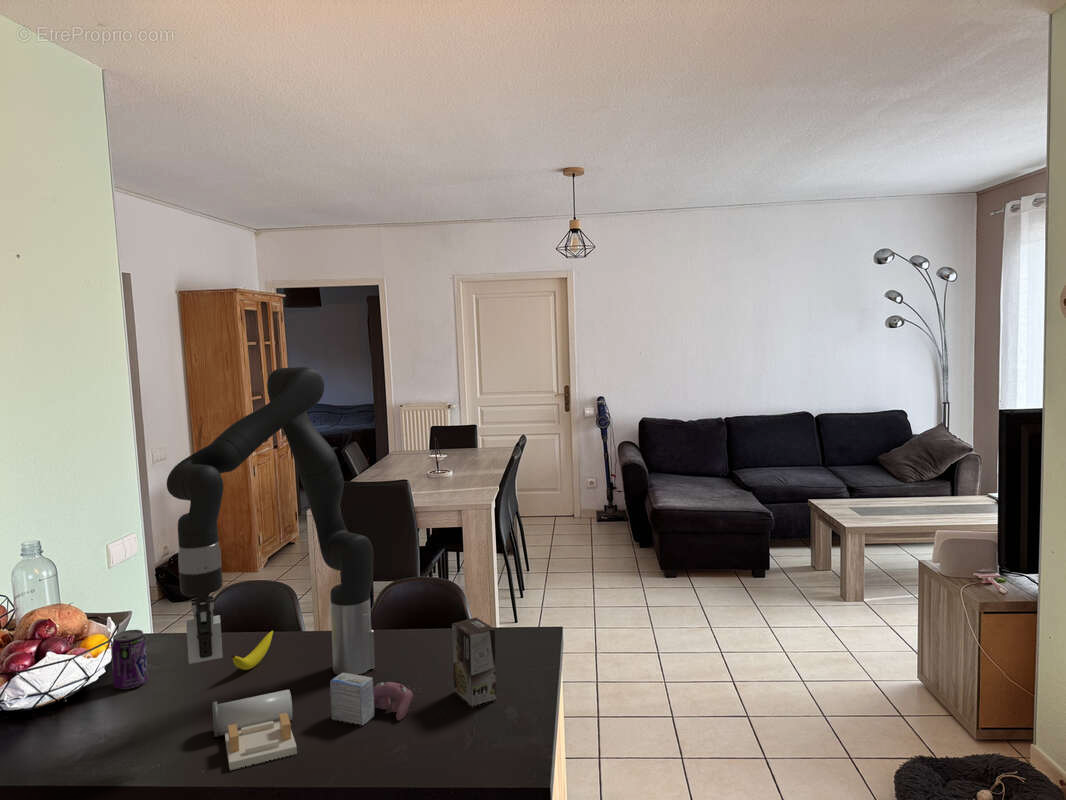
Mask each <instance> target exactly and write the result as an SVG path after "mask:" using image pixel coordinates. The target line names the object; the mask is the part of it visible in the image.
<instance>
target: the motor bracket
mask: <svg viewBox="0 0 1066 800" xmlns="http://www.w3.org/2000/svg"><path fill="white" fill-rule="evenodd" d="M291 720H293V701H292V695H291V691H290V689H285V690H280V691H275V692H269V693H265V694H260V695H256V696H251V697H250V696H249V697H245V698H241V699H236V700H232V701H228V702H226V701H225V702H222V703H218V701H213V702H212V721H213V732H214V734H213V735H214V738H215V737H216V738H217V737H221V736H224V741H225V749H226V755H227V763H228V768H229V769H230V770H229V771H233V770H237V769H242V768H245V766H246V767H251V766H253V765H252V764H254V765H257V764H258V765H259V764H262V763H266V761H267V762H270V761H269V760H271V761H273V760H274V759H275V760H278V758H279V759H282V757H283V758H286V756H287V757H291V756H295V755H297V754H298V748H297V743H296V740H295V737H294V735H293V731H292V728H291V727H292V724H291V722H290V721H291ZM294 754H295V755H294ZM290 755H291V756H290ZM275 760H274V761H275ZM241 767H242V768H241Z"/></svg>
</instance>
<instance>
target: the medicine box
mask: <svg viewBox="0 0 1066 800" xmlns="http://www.w3.org/2000/svg"><path fill="white" fill-rule="evenodd" d="M329 683H330V684H329V687H330V705H331V706H330V709H331V710H330V712H331V720H332V719H333V720H332V721H337V720H338V721H337V722H342V721H343V722H342V723H347V722H348V723H347V724H352V723H354V725H357V724H359V725H358V726H362V725H363V726H365V725H364V724H367V723H368V722H369V721H370V720H372V719H373V718H374V717H375V706H374V694H373V688H374V679H373V677H372V676H371V677H370V676H365V675H362V674H361V675H355V674H349V673H341V674H339V675H336V676H335V677H333V678H332V679H331V680H330V682H329Z"/></svg>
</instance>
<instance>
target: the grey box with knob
mask: <svg viewBox="0 0 1066 800" xmlns="http://www.w3.org/2000/svg"><path fill="white" fill-rule="evenodd" d="M213 620H214V623H213V624H212V625H211V632H212V638H211V643H212V656H210V657H206V658H200V653H199V640H198V638H197V635H198V633H197V627H195V626H194V618H192V619H188V620H187V619H186V638H187V657H188V664H189V665H191V664H196V663H201V662H207V661H212V660H217V659H223V657H224V656H223V640H222V625H221V615H213ZM208 631H209V629H208V628H207V629H201V630H200V633H202V632H208Z"/></svg>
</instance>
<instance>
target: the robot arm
mask: <svg viewBox="0 0 1066 800" xmlns="http://www.w3.org/2000/svg"><path fill="white" fill-rule="evenodd" d="M266 389H267V395H268V399H269V402H268V403H267V404H265V405H263V406H262V407H260V408H259V409H257V410H255V411H253V412H251V413H249V414H247V415H246V416H244V417H242V418H240V419H238V420H236V421H234V423H232V424H231V425H230V426H228V427H227V428H226V429H225V430H224V431H223V432H222V433H221V434H219V435H218V436H217V437H216V438H215V439H214V440H212V442H211V443H210V444H208V445H207V446H205V447H202V448H201V449H198V450H197V451H195V452H194V453H192V454H191V455H188V456H187V457H185V458H184V459H182V460H181V461H180V462H179V463H178V462H177V464H176V465H175V466H174V467H173V468H172V469H171V471H170V472H169V474H168V476H167V479H166V490H167V491H168V493H169V494H170V495H171V496H172V497H173V498H175V499H178V500H181V501H189V502H190V505H189V511H188V512H187V513H184V514H182V515H181V516H180V517H178V521H177V536H178V537H177V538H178V539H177V540H178V557H177V558H178V559H177V561H178V563H177V564H178V574H179V577H178V578H179V591H180V594H183V596H189V597H190V596H192V597H195V598H191V601H190V603H191V612H192V613H193V619H194V626H195V627H197V633H198V635H197V638H198V640H199V653H200V658H206V657H210V656H212V643H211V638H212V632H211V625H212V624H213V623H214V620H213V616H214V609H215V603H214V595H211V596H210V594H212V593H216V592H218V591H219V590H221V588H222V587H223V586H224V585H223V572H222V571H223V570H222V569H223V567H222V555H221V548H220V542H219V530H218V528H219V527H218V517H219V514H220V510H221V506H222V499H223V495H224V481H223V476H222V475H221V474H225V473H230V472H233V471H235V470H236V469H238V467H240V466H241V464H243V463H244V462H245V461H246V460H247V459H248V458H249V457H250V456H252V454H253V453H254V452H256V450H257V449H259V447H261V446H262V445H263V444H264V443H265V442H266V441H267V440H269V439H271V438H272V436H274V435H275V434H276V433H277V432H279V431H280V430H281V429H282V430H283V432H284V435H285V437H286V440H287V442H288V446H289V449H290V451H291V455H292V457H293V460H294V463H295V465H296V466H295V467H296V469H297V474H298V476H299V478H300V482H301V486H302V488H303V490H304V493H305V496H306V499H307V502H308V505H309V509H310V512H311V515H312V518H313V521H314V525H315V529H316V535H317V539H318V544H319V549H320V553H321V557H322V560H323V561H324V563H325V564H326V566H327V567H329V568H331V569H332V570H334V571H338V572H341V583H339V584H336V585H335V586H333V587H332V588H331V589H330V615H331V616H330V617H331V620H330V621H331V644H332V645H331V646H332V650H331V651H332V671H334V672H333V674H335V675H337V674H338V675H339V674H341V673H349V674H355V675H358V674H361V675H363V674H362V673H364V674H366V673H368V672H369V671H368V670H370V669H373V670H375V669H374V668H375V666H376V665H375V664H376V663H375V643H374V642H375V639H374V635H375V633H374V630H373V629H372V628H373V627H372V619H371V618H372V617H371V615H372V614H371V589H372V587H373V583H374V582H373V581H374V548H373V545H372V542H371V540H370V539H369V538H368V537H367V536H365V535H362V534H359V533H353V532H349V531H348V528H347V527H346V525H345V522H344V518H343V516H342V512H341V501H342V498H343V493H344V485H345V481H344V476H343V472H342V470H341V468H342V467H341V465H340V462H339V459H338V456H337V454H336V452H335V451H334V449H333V448H332V446H331V445H330V444H329V443H328V441H327V440H326V439H325V438H324V437H323V436H322V435H321V434H320V433H319V431H318V430H317V429H316V428H315V426H314V425H313V423H312V422H311V420H310V419H311V418H310V417H309V415H308V411H309V410H311V409H312V408H313V407H314V406H316V405H317V404H318V403H319V402H320V400H321V399H322V397H323V396H324V392H325V382H324V379H323V377H322V375H321V374H320V372H319V371H318V370H316V369H314V368H312V367H307V366H296V367H295V366H294V367H281V368H277V369H275V370H273V371H272V372H271V373H270V374H269V376H268V378H267V384H266ZM207 628H208V629H209V631H208V632H202V633H200V630H201V629H207ZM367 671H368V672H367ZM370 671H371V670H370ZM365 672H366V673H365ZM338 675H337V676H338Z"/></svg>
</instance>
